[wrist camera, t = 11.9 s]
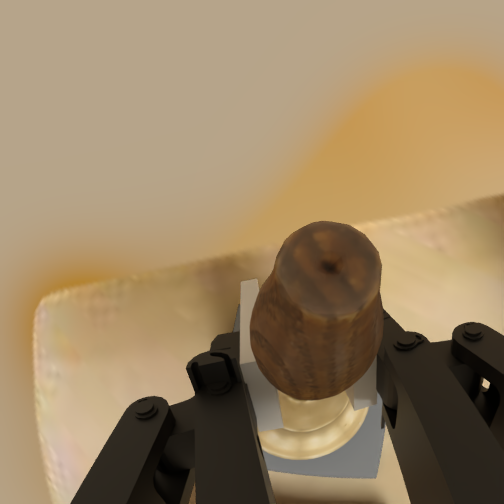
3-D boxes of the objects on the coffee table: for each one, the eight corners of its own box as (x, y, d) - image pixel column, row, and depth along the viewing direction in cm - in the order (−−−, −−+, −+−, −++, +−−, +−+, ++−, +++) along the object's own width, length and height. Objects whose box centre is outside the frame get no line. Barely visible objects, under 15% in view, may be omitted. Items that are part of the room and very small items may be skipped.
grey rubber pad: (390, 324, 20) (394, 320, 20) (373, 476, 15) (376, 478, 14) (240, 308, 23) (239, 304, 22) (209, 456, 17) (205, 457, 17)
